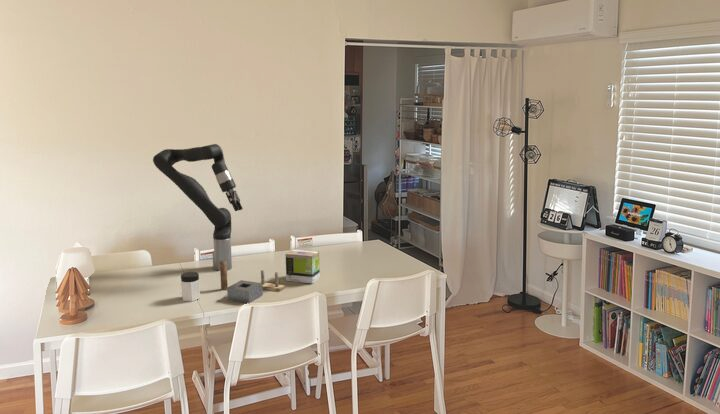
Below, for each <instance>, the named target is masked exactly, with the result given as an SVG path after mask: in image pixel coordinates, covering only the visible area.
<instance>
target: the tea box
mask: <svg viewBox="0 0 720 414" xmlns="http://www.w3.org/2000/svg"><path fill="white" fill-rule="evenodd" d="M320 272H321V271H320V251H318V250H308V249H307V250H306V249H304V250H303V249H294V248H293V249H291V250H290V251H288V252H286V253H285V273H286V274H285V277H286V279H285V281H286V282H296V283H306V284H314V283H315V282H317V281H318V280H319V279H320V276H321V275H320V274H321V273H320Z"/></svg>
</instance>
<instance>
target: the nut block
mask: <svg viewBox="0 0 720 414" xmlns="http://www.w3.org/2000/svg"><path fill="white" fill-rule="evenodd" d="M226 294H227V295H226V296H227V301H231V300H232V301H233V302H237V301H238V302H237V303H243V304H248V303H247V302H251V303H253V302H255V300H257V299H259V298H261V297H262V296H264V289H263V283H260V282H255V281H249V280H243V279H241V280H238V281H237V282H236V283H233V284H232V285H228V288H227V290H226Z"/></svg>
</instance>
